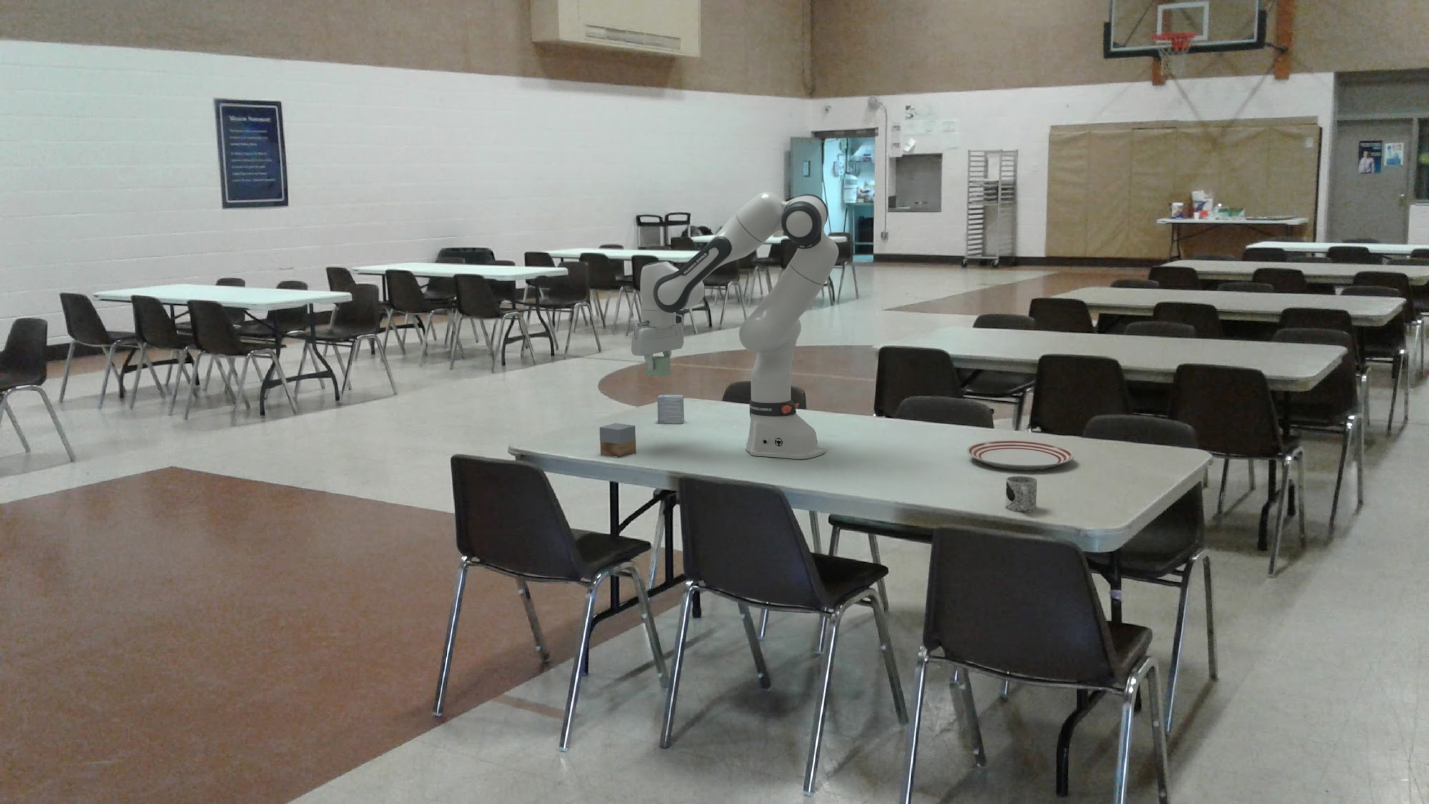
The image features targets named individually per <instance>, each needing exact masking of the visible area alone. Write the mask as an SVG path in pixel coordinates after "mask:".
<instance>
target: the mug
mask: <svg viewBox="0 0 1429 804" xmlns="http://www.w3.org/2000/svg"><path fill="white" fill-rule="evenodd" d="M1005 482H1006V483H1005V509H1007V510H1009V511H1011V512H1018V513H1030V512H1029V511H1031V512H1034V510H1035V511H1036V510H1037V493H1038V491H1037V490H1038V486H1037V485H1038V480H1037V479H1036V478H1035V477H1030V476H1026V475H1024V476H1023V475H1016V476H1015V475H1013V476H1009V477H1006V481H1005Z"/></svg>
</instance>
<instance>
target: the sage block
mask: <svg viewBox="0 0 1429 804" xmlns="http://www.w3.org/2000/svg"><path fill="white" fill-rule="evenodd" d="M652 360H653V363H655V369H654V370H648V369H647V363H646V361H645V360H644V362H645V376H649V377H656V378H657V377H666V376H669V375H671V372H672V371H671V357H664V355H663V356H662V355H653V358H652Z"/></svg>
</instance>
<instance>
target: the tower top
mask: <svg viewBox="0 0 1429 804" xmlns="http://www.w3.org/2000/svg"><path fill="white" fill-rule="evenodd" d="M633 440H636V425H633V424H626V423H625V424H624V423H617V422H615V423H611V424H607V425H604V426H600V427H599V442H600V441H601V442H608V443H615V444H622V443H626V442H629V441H633Z"/></svg>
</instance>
